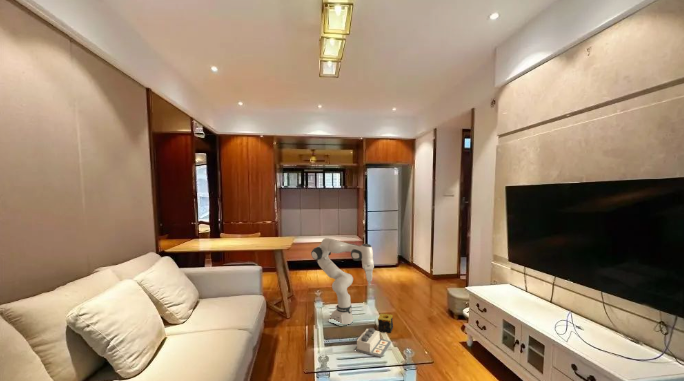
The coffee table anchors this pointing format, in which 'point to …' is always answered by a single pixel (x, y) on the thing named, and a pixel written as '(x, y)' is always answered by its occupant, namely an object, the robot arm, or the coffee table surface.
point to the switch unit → (372, 345)
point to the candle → (385, 323)
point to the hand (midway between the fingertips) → (369, 283)
